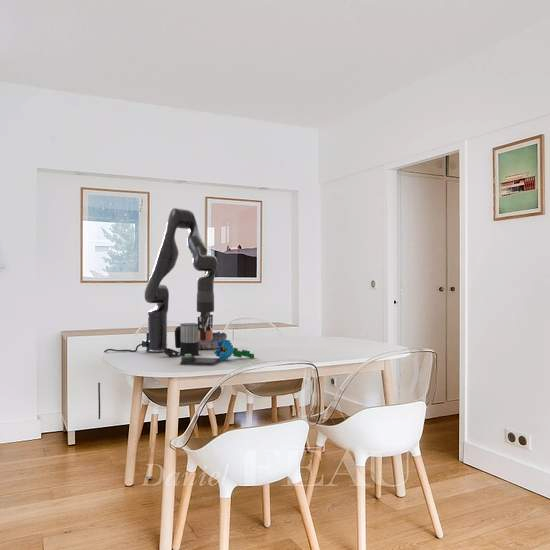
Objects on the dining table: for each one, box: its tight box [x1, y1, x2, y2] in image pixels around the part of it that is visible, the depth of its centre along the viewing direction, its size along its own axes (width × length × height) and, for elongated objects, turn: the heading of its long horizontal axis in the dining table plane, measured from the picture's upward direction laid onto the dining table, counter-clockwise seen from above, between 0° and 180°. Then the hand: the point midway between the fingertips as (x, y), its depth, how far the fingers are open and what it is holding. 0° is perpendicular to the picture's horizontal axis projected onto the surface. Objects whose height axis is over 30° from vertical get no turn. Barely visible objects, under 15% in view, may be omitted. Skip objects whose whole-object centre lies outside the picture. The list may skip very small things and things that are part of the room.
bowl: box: [198, 329, 214, 342], centre depth 233 cm, size 6×6×4 cm
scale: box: [180, 355, 221, 367], centre depth 232 cm, size 14×12×3 cm
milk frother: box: [163, 322, 200, 358], centre depth 254 cm, size 14×16×15 cm
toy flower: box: [213, 339, 255, 361], centre depth 242 cm, size 9×9×18 cm
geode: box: [198, 331, 228, 350], centre depth 278 cm, size 20×12×10 cm, turn 116°
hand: (205, 339), depth 233 cm, fingers closed on bowl, 6 cm apart
